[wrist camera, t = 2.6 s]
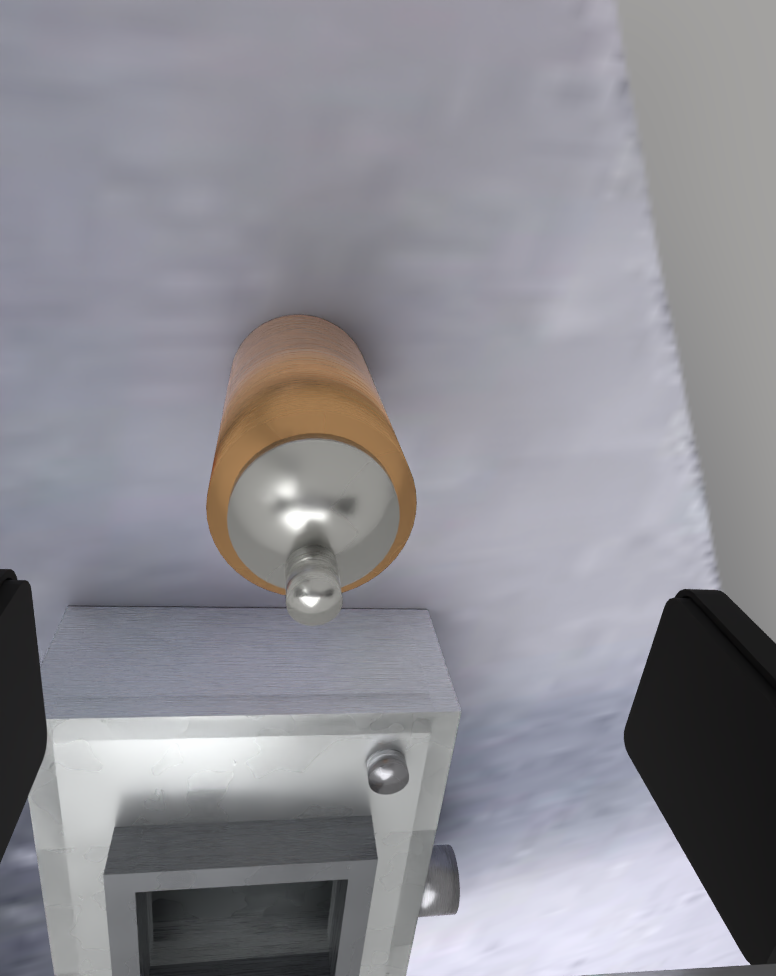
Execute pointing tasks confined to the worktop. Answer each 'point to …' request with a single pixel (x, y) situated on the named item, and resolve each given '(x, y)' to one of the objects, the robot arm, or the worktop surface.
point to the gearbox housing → (242, 791)
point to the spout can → (307, 469)
